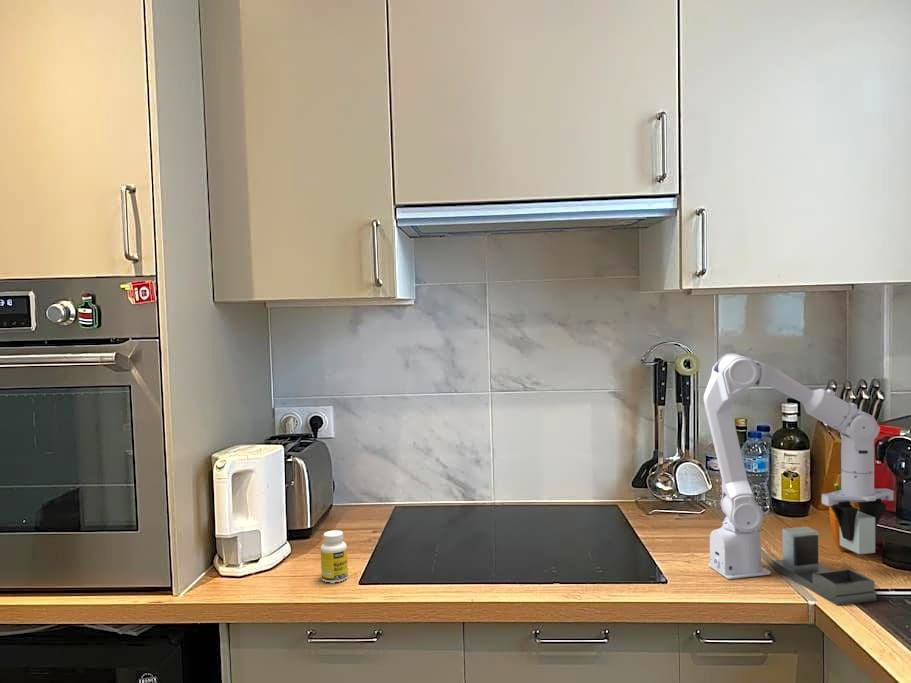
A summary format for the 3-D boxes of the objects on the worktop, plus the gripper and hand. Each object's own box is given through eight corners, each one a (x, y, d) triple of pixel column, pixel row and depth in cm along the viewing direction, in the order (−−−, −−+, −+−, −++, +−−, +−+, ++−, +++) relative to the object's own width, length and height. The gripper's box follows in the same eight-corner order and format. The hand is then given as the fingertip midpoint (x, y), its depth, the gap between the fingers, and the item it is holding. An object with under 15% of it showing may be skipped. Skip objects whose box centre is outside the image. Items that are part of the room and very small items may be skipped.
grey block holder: (836, 605, 130) (836, 558, 129) (772, 567, 148) (772, 527, 148) (876, 600, 131) (875, 554, 131) (807, 564, 150) (807, 523, 149)
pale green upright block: (859, 554, 141) (859, 518, 141) (839, 545, 146) (839, 511, 146) (876, 552, 142) (876, 517, 141) (856, 543, 147) (856, 509, 147)
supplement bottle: (335, 586, 148) (333, 538, 147) (316, 581, 151) (314, 534, 150) (353, 577, 152) (351, 531, 152) (334, 572, 155) (332, 527, 155)
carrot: (852, 548, 158) (851, 480, 157) (858, 556, 153) (857, 486, 152) (827, 547, 159) (826, 479, 158) (832, 554, 154) (831, 485, 154)
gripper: (838, 477, 138) (839, 547, 139) (905, 472, 141) (905, 541, 141) (814, 469, 145) (814, 536, 146) (878, 464, 148) (878, 530, 148)
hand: (857, 538), depth 144 cm, fingers closed on pale green upright block, 4 cm apart
